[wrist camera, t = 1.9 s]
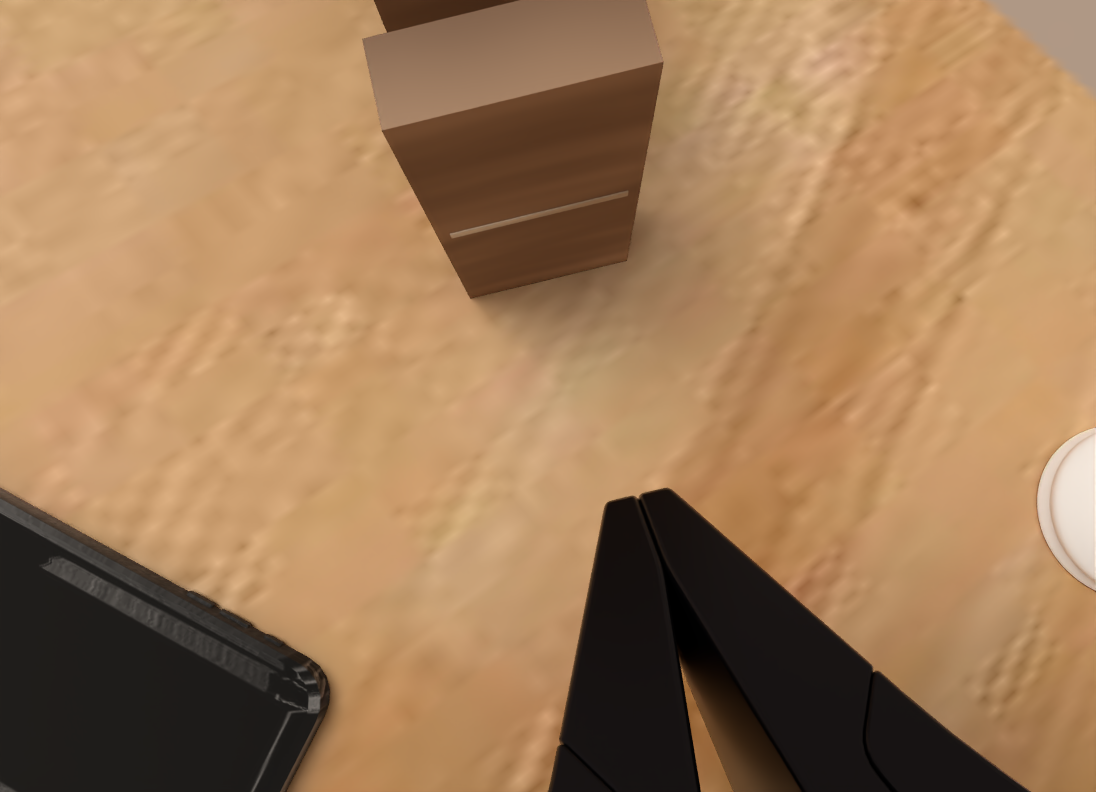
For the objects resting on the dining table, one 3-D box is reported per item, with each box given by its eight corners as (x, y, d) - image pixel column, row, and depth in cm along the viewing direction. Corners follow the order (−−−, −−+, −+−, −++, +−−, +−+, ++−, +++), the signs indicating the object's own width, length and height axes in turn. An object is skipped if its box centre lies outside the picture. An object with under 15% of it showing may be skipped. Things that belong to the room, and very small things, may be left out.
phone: (195, 957, 19) (-245, 688, 21) (216, 932, 20) (-202, 679, 22) (337, 679, 20) (-93, 443, 21) (350, 670, 21) (-60, 446, 23)
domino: (627, 261, 22) (663, 62, 12) (470, 299, 22) (381, 132, 12) (612, 206, 22) (637, -31, 13) (458, 243, 22) (362, 37, 13)
